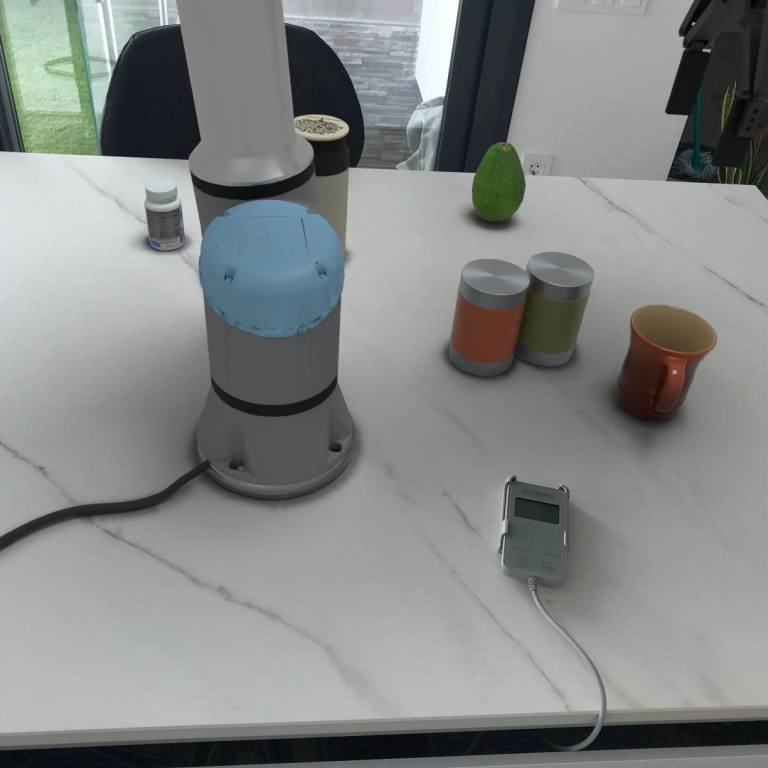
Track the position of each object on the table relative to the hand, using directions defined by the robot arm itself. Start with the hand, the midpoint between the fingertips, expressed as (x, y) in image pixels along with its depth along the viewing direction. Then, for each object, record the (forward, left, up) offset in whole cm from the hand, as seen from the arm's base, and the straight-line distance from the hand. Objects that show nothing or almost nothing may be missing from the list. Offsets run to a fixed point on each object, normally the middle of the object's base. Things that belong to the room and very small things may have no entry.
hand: (700, 138), depth 80 cm
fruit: (-4, +32, -26) cm, 41 cm away
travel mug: (-33, +27, -26) cm, 50 cm away
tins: (-16, +1, -26) cm, 30 cm away
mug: (-6, -13, -26) cm, 29 cm away
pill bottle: (-52, +34, -26) cm, 68 cm away
